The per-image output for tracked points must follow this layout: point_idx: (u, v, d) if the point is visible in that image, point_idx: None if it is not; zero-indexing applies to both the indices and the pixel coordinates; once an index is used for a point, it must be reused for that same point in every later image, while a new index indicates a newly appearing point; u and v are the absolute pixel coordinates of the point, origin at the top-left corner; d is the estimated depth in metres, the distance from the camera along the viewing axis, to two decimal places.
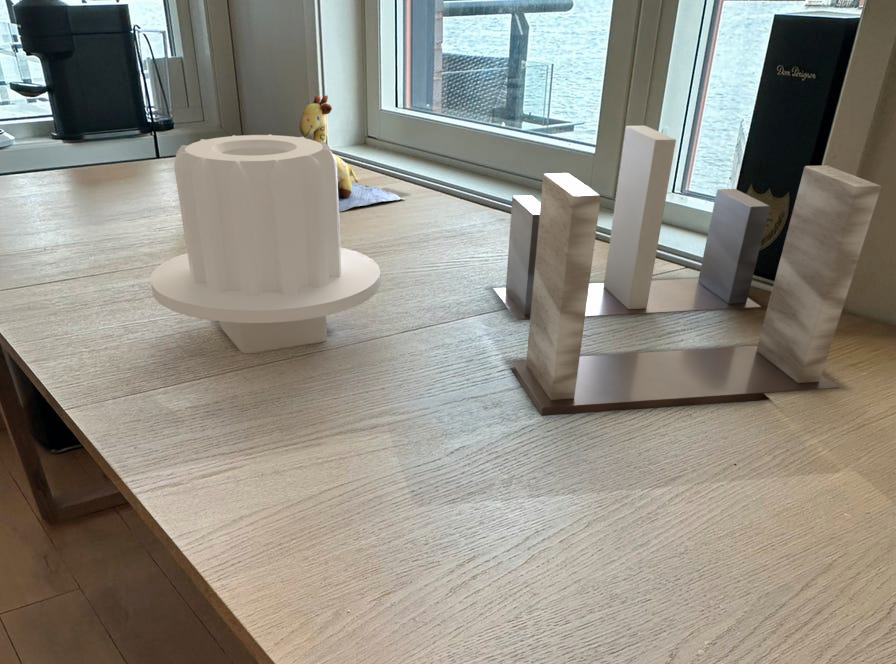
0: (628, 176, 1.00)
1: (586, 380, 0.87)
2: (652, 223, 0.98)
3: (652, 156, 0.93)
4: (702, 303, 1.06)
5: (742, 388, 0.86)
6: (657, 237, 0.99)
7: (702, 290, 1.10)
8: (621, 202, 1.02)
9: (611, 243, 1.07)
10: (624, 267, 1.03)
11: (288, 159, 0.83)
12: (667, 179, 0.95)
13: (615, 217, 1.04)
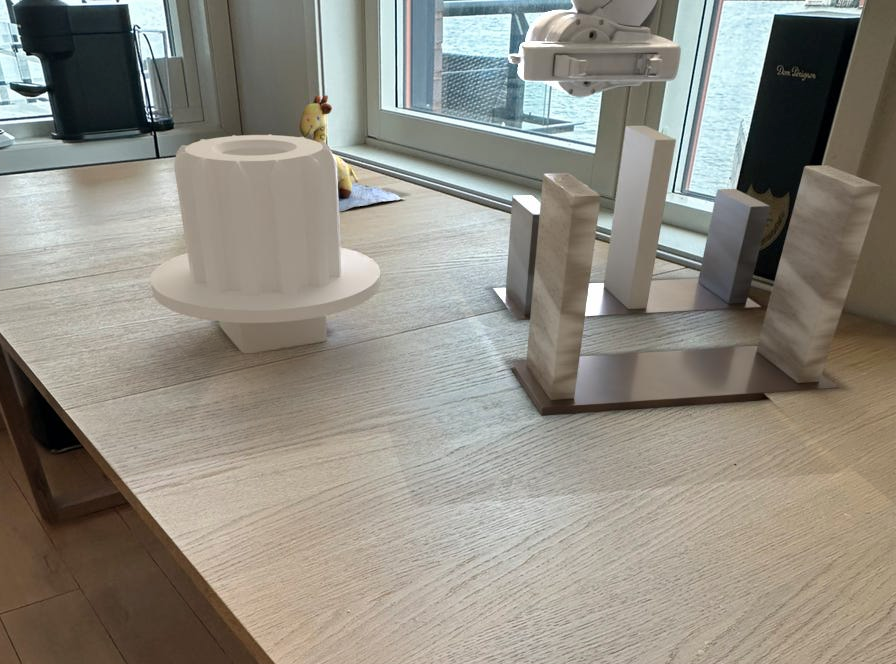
0: (628, 176, 1.00)
1: (586, 380, 0.87)
2: (652, 223, 0.98)
3: (652, 156, 0.93)
4: (702, 303, 1.06)
5: (742, 388, 0.86)
6: (657, 237, 0.99)
7: (702, 290, 1.10)
8: (621, 202, 1.02)
9: (611, 243, 1.07)
10: (624, 267, 1.03)
11: (288, 159, 0.83)
12: (667, 179, 0.95)
13: (615, 217, 1.04)
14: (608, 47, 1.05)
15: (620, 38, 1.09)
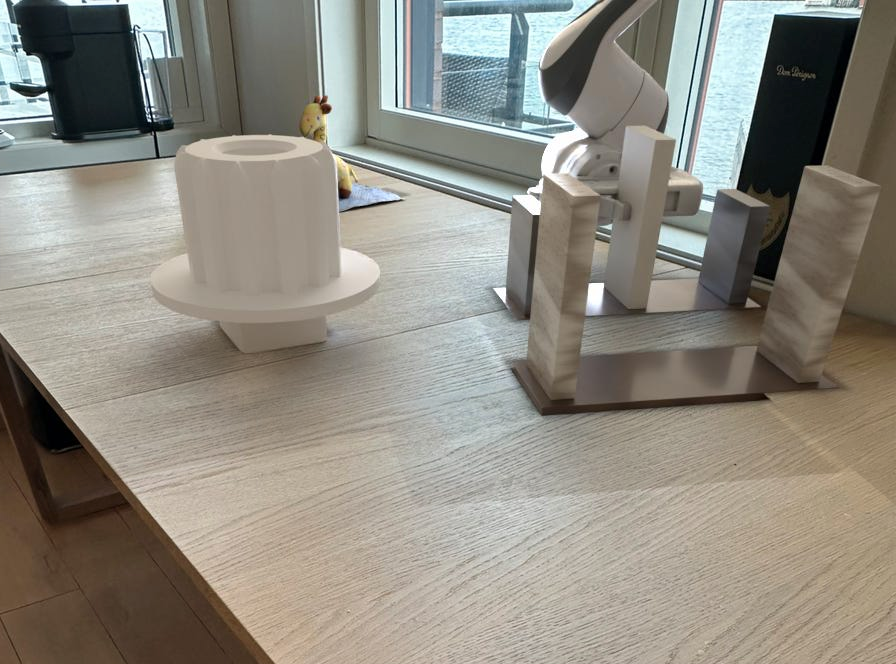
0: (628, 176, 1.00)
1: (586, 380, 0.87)
2: (652, 223, 0.98)
3: (652, 156, 0.93)
4: (702, 303, 1.06)
5: (742, 388, 0.86)
6: (657, 237, 0.99)
7: (702, 290, 1.10)
8: None
9: (611, 243, 1.07)
10: (624, 267, 1.03)
11: (288, 159, 0.83)
12: (667, 179, 0.95)
13: None
14: None
15: None
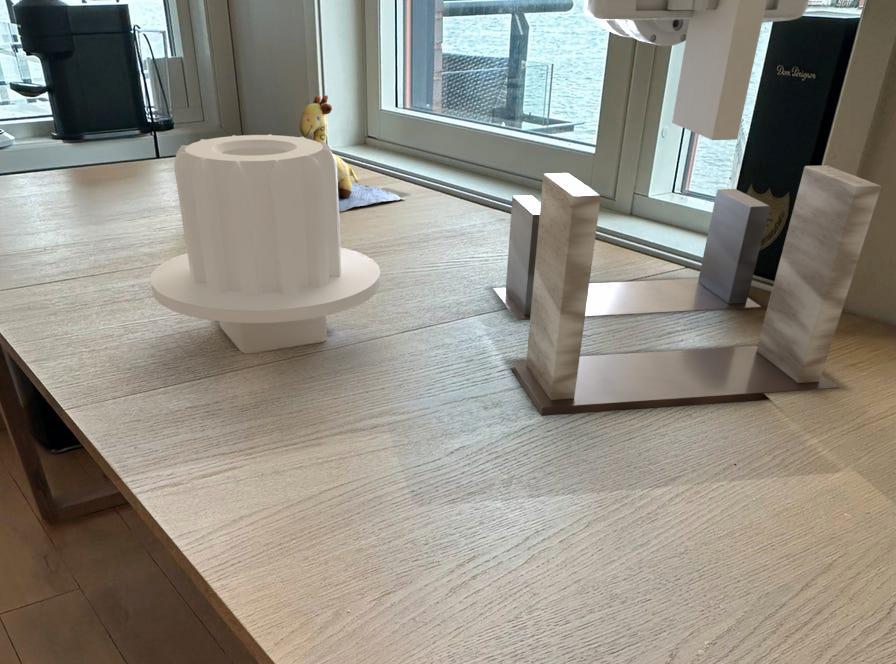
0: None
1: (586, 380, 0.87)
2: (753, 3, 0.69)
3: None
4: (702, 303, 1.06)
5: (742, 388, 0.86)
6: (759, 27, 0.70)
7: (702, 290, 1.10)
8: None
9: (686, 55, 0.78)
10: (707, 81, 0.75)
11: (288, 159, 0.83)
12: None
13: (694, 15, 0.76)
14: None
15: None
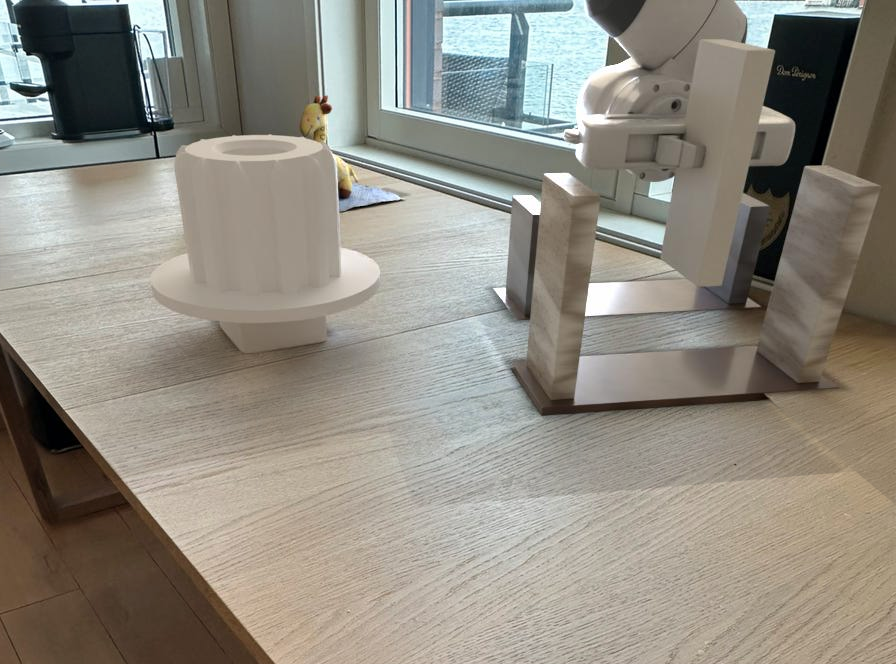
0: (701, 108, 0.75)
1: (586, 380, 0.87)
2: (736, 169, 0.73)
3: (741, 73, 0.68)
4: (702, 303, 1.06)
5: (742, 388, 0.86)
6: (741, 189, 0.74)
7: (702, 290, 1.10)
8: None
9: (673, 201, 0.81)
10: (693, 231, 0.78)
11: (288, 159, 0.83)
12: (760, 107, 0.70)
13: (681, 166, 0.79)
14: None
15: None
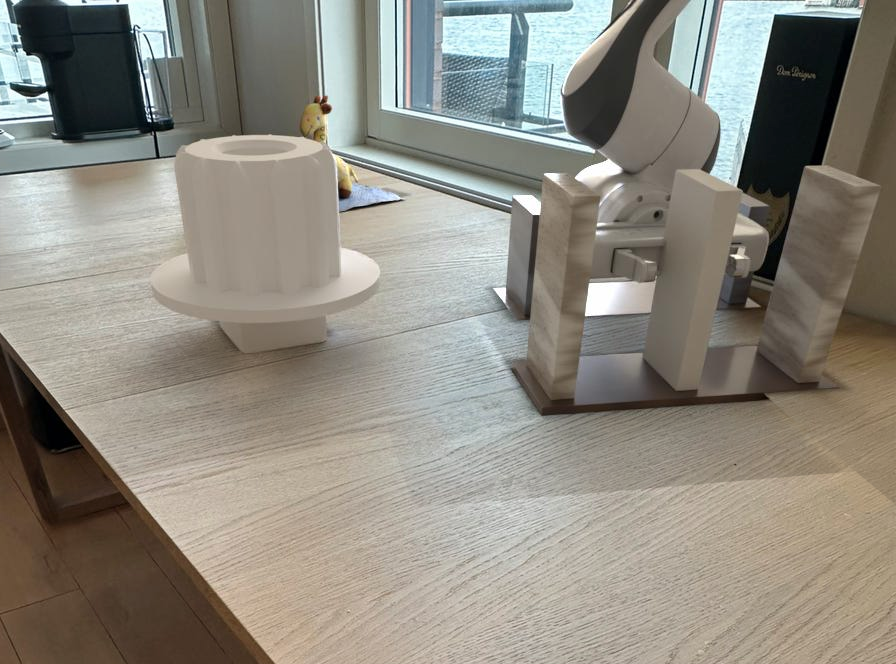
0: (678, 231, 0.81)
1: (586, 380, 0.87)
2: (709, 290, 0.79)
3: (712, 210, 0.75)
4: None
5: (742, 388, 0.86)
6: (714, 307, 0.80)
7: None
8: (668, 261, 0.84)
9: (653, 308, 0.88)
10: (671, 340, 0.85)
11: (288, 159, 0.83)
12: (730, 238, 0.76)
13: (660, 278, 0.86)
14: None
15: None
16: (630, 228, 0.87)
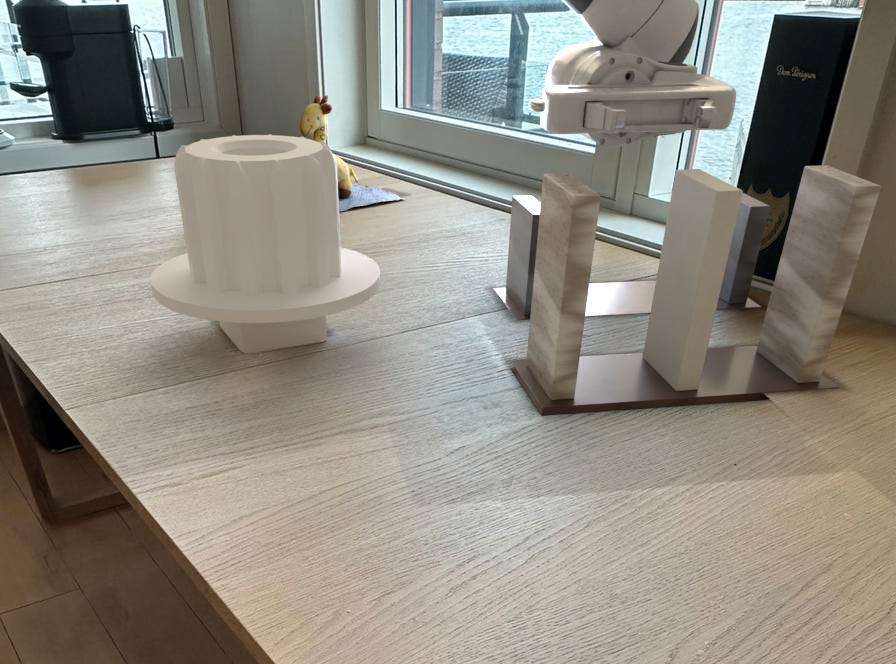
0: (678, 231, 0.81)
1: (586, 380, 0.87)
2: (709, 290, 0.79)
3: (712, 210, 0.75)
4: None
5: (742, 388, 0.86)
6: (714, 307, 0.80)
7: None
8: (668, 261, 0.84)
9: (653, 308, 0.88)
10: (671, 340, 0.85)
11: (288, 159, 0.83)
12: (730, 238, 0.76)
13: (660, 278, 0.86)
14: (650, 92, 0.87)
15: (662, 80, 0.92)
16: (602, 88, 0.91)
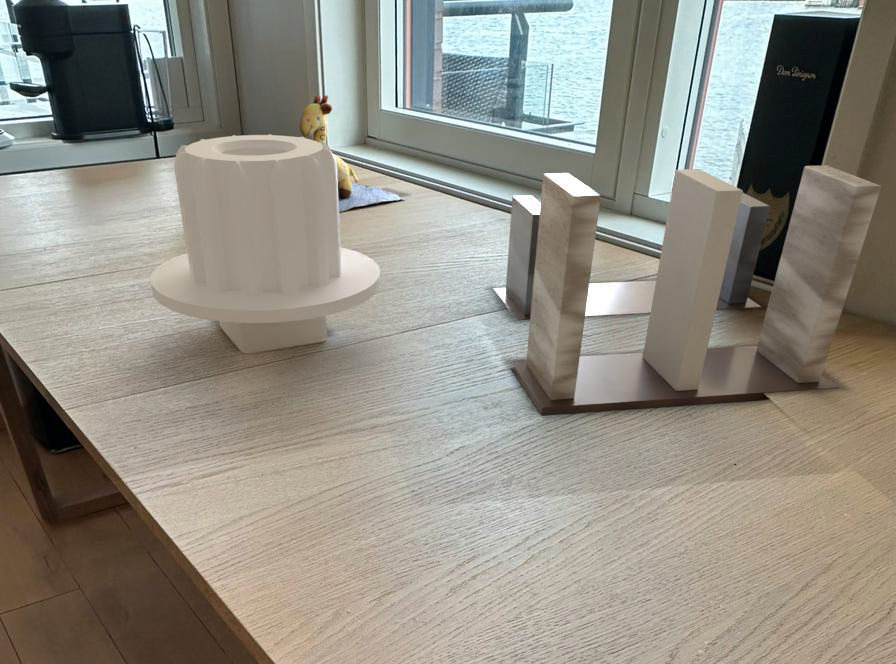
0: (678, 231, 0.81)
1: (586, 380, 0.87)
2: (709, 290, 0.79)
3: (712, 210, 0.75)
4: None
5: (742, 388, 0.86)
6: (714, 307, 0.80)
7: None
8: (668, 261, 0.84)
9: (653, 308, 0.88)
10: (671, 340, 0.85)
11: (288, 159, 0.83)
12: (730, 238, 0.76)
13: (660, 278, 0.86)
14: None
15: None
16: None
